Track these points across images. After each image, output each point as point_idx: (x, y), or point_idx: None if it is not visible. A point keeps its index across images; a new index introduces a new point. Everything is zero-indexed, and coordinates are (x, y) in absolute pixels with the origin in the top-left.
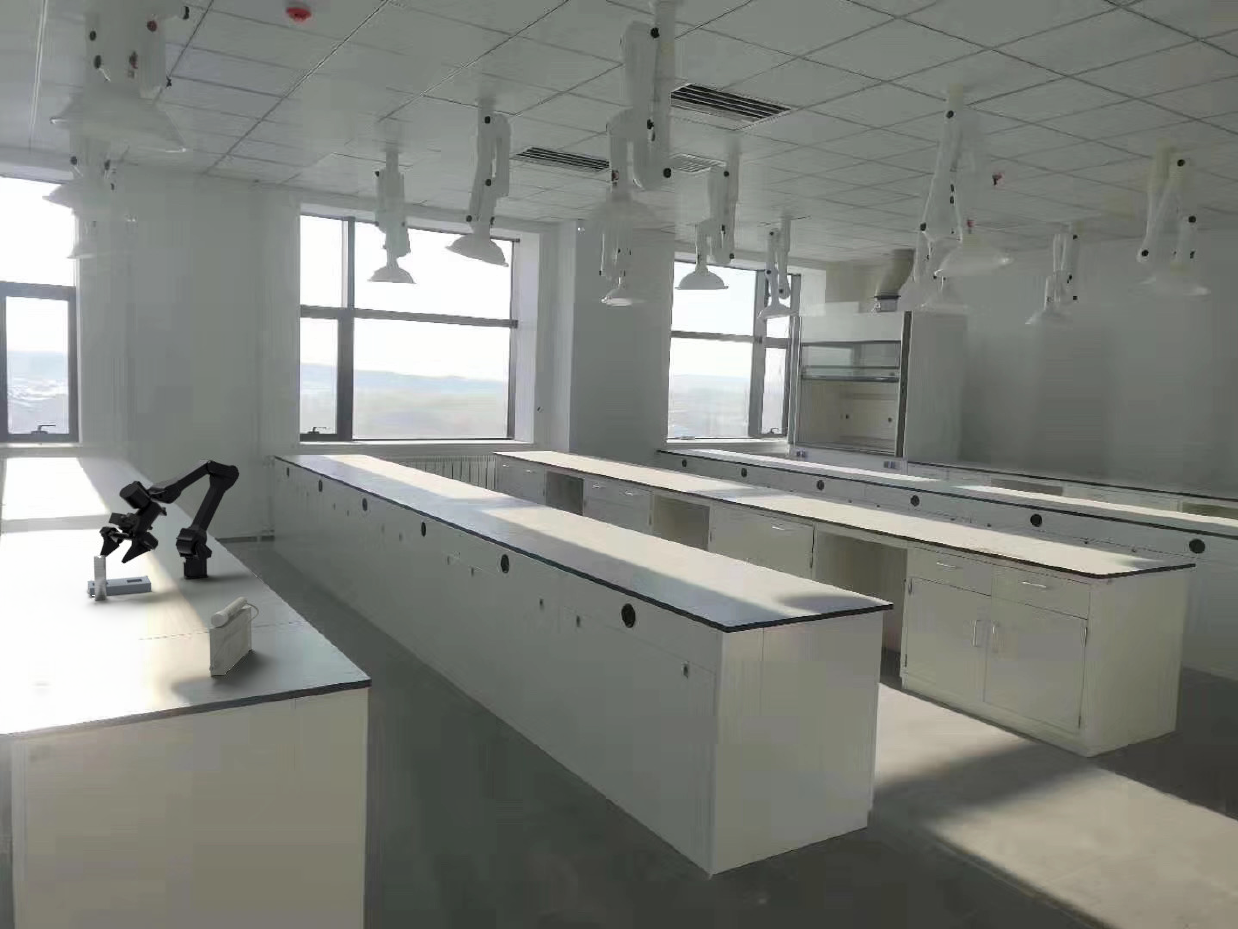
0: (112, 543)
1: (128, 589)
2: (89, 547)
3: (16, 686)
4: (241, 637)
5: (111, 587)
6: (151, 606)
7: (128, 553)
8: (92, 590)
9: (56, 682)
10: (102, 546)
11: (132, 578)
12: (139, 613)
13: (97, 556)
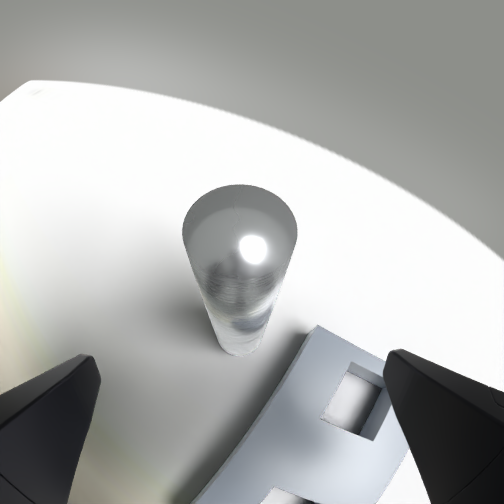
0: (489, 500)
1: (229, 458)
2: None
3: (51, 82)
4: None
5: (270, 403)
6: (26, 332)
7: (13, 388)
8: (309, 336)
9: (29, 98)
10: (498, 390)
11: None
12: (20, 264)
13: (257, 214)
